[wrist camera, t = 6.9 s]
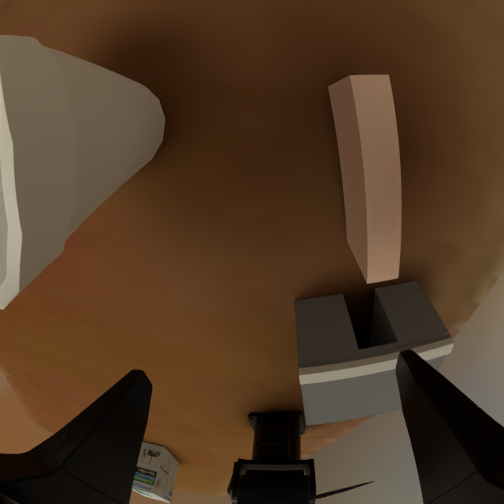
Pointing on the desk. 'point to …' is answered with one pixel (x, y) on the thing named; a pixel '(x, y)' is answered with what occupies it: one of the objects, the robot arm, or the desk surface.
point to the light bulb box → (155, 472)
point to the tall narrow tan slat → (369, 172)
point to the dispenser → (363, 351)
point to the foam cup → (62, 150)
